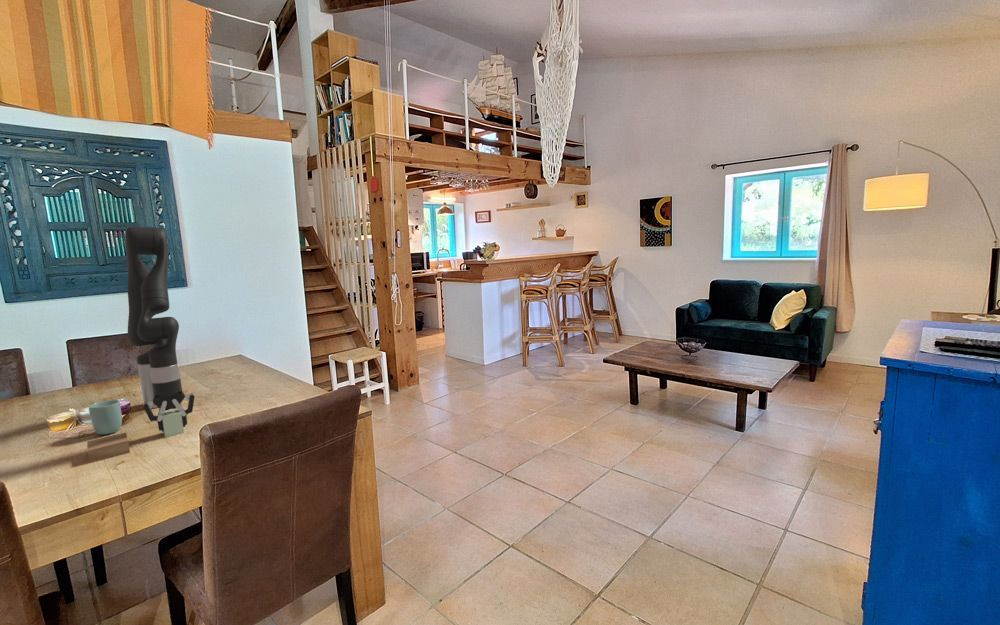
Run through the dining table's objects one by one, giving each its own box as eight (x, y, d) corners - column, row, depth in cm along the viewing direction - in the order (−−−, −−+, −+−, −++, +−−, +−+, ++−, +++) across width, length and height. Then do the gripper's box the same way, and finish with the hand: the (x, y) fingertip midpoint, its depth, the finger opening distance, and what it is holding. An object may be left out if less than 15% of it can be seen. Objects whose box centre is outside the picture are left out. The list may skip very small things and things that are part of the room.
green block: (164, 432, 149) (161, 412, 148) (182, 428, 152) (180, 408, 151) (165, 437, 145) (162, 416, 144) (184, 432, 149) (181, 412, 147)
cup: (122, 425, 157) (118, 397, 155) (125, 431, 151) (120, 403, 150) (92, 432, 151) (87, 404, 150) (94, 439, 146) (89, 409, 144)
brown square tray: (89, 454, 136) (87, 441, 135) (128, 444, 142) (125, 432, 141) (89, 464, 129) (87, 450, 128) (130, 453, 135) (128, 440, 134)
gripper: (191, 372, 153) (198, 419, 156) (137, 380, 145) (146, 431, 147) (193, 376, 148) (200, 426, 150) (137, 386, 139) (146, 438, 141)
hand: (173, 428), depth 149 cm, fingers closed on green block, 5 cm apart
